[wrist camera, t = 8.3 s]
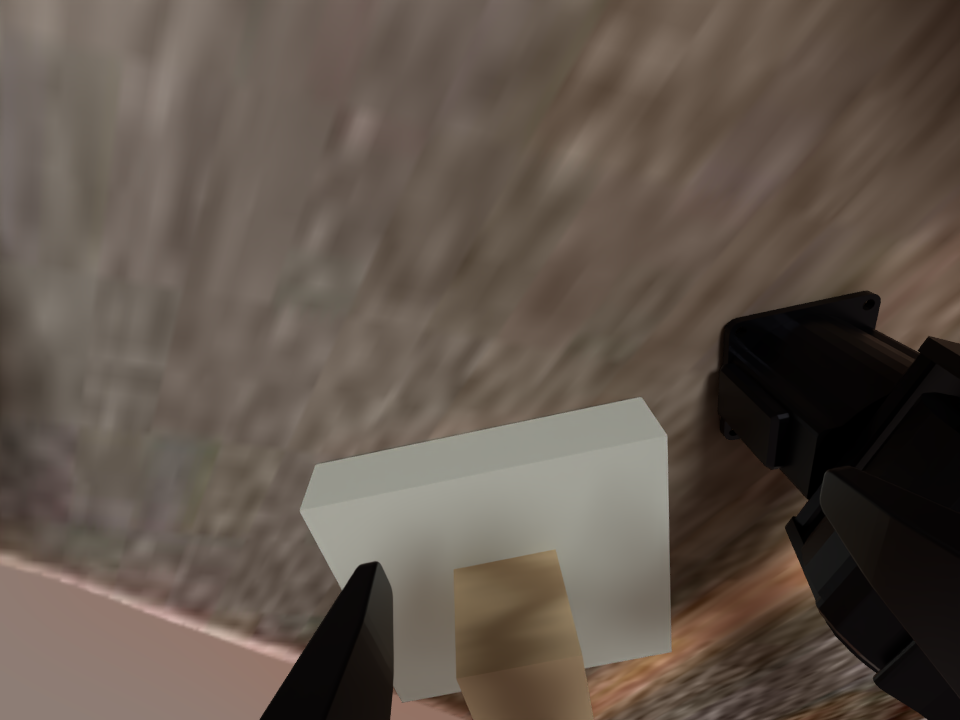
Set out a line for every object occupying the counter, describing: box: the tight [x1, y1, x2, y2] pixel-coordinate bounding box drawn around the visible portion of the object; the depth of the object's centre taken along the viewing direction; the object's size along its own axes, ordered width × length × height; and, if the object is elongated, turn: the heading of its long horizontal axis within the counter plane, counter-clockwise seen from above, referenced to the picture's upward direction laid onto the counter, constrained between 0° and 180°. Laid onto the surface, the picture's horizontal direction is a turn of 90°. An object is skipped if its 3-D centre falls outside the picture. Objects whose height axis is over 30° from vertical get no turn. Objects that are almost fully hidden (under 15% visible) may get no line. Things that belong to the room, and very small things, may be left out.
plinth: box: [300, 397, 671, 702], centre depth 26 cm, size 16×16×3 cm
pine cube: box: [454, 549, 594, 720], centre depth 22 cm, size 5×5×5 cm
